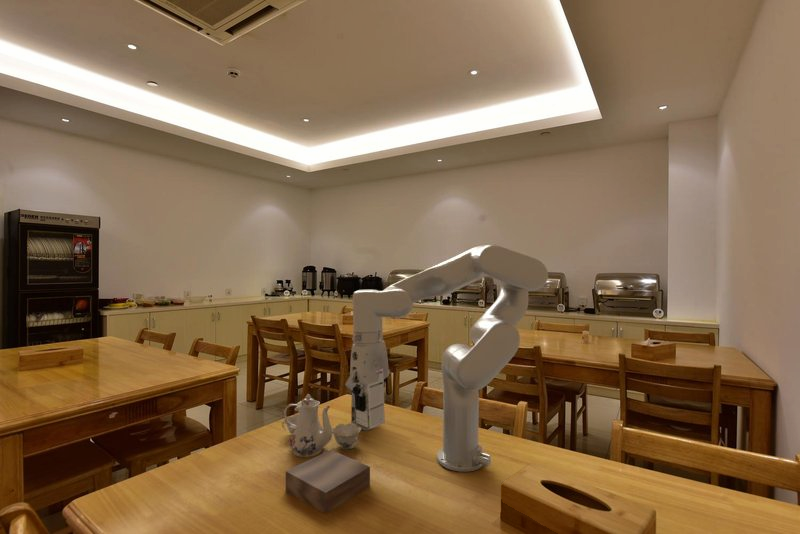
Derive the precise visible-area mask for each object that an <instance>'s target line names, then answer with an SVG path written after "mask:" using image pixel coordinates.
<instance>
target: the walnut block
mask: <svg viewBox="0 0 800 534" xmlns="http://www.w3.org/2000/svg"><path fill="white" fill-rule="evenodd" d="M370 486H371V467H370V466H369V465H367V464H365V463H362V462H360V461H358V460H356V459H353V458H350V457H348V456H347V455H344V454H342V453H339V452H336V451H335V450H333V449H329V450H327V451H325V452H323V453H320V454H318V455H315V456H313V457H311V458H310V459H308V460H306V461H305V462H302V463H300V464H298V465H296V466H294V467H292V468H290V469H287V470H286V471H285V492H287V493H288V494H290V495H292V496H294V497H295V498H297V499H298V500H301V501H302V502H303V503H306V504H307V505H309V506H311V507H312V508H314V509H316V510H317V511H319V512H321V513H322V514H324V515H327V514H329V513H330V512H331V511H333V510H335V509H336V508H338V507H339V506H341V505H342V504H343V503H346V502H347V501H349V500H350V499H352V498H353V497H355V496H356V495H358V494H360V493H361V492H362V491H364V490H365V489H367V488H369V487H370Z"/></svg>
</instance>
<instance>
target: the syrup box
mask: <svg viewBox="0 0 800 534" xmlns="http://www.w3.org/2000/svg"><path fill="white" fill-rule="evenodd" d="M376 372H378V371H376ZM378 373H379V378H378V381H376V382H373V383H371V384H368V385H365V390H364V394H363V395H364V396H365V402H366V410H365V411H364V412H362V411H359V410H356V409H355V423H356V424H358V425H361V426H363V427H366V428H368V429H370V430H372V429H374V428H376V427H379V426H380V425H383V424H385V423H386V415H385V387H384V378H383V369H380V371H379V372H378ZM378 373H377V374H378ZM375 374H376V373H375ZM358 382H359V381H358ZM354 385H355V383H354ZM360 387H361V385H359V388H358V389H359V390H360Z"/></svg>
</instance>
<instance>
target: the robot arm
mask: <svg viewBox="0 0 800 534" xmlns="http://www.w3.org/2000/svg"><path fill="white" fill-rule="evenodd" d="M548 272H549V271H548V269H547V266H546V265H545V264H544V263H543V262H542V261H540V260H539V259H537V258H534V257H533V256H532V257H531V256H529V255H526V254H523V253H520V252H517V251H515V250H512V249H509V248H507V247H503V246H501V245H497V244H485V245H484V244H482V245H477V246H474V247H472V248H469V249H468V250H465V251H464V252H461V253H459V254H457V255H455V256H453V257H451V258H449V259H446V260H445V261H442V262H440V263H437V264H436V265H434V266H431V267H428V268H427V269H424V270H422V271H420V272H417V273H415V274H413V275H411V276H408V277H405V278H404V279H402V280H399V281H398V282H397V281H396V283H393V284H391V285H389V286H388V287H385V288H384V289H383V290H378V289H372V288H371V289H358V290H356V291H354V292H353V294H352V319H353V320H352V325H353V329H352V330H353V336H352V337H351V341H352V342H353V344H352V346H351V352H350V365H349V366H350V367H349V370H350V371H349V376H348V378H347V380H346V382H345V384H344V385H345V386H346V388H348V389H349V391H350V392H351V393H352V392H353V394H354V395H355V409H356V410H359V411H362V412H364V411H365V410H366V402H365V396H364V395H363V394H364V390H365V385H368V384H371V383H373V382H376V381H378V378H379V373H378V372H379V371H380V369H383V378H384V388H386V383H387V380H388V378H389V375H390V374H391V369H389V360H388V359H389V358H388V351H387V346H386V342H385V340H384V337H383V335H384V333H383V318H392V319H400V318H401V319H402V318H405V317H407V316H408V315H409V314H411V312H412V311H413V308H414V304H415V303H418V302H420V301H422V300H426V299H429V298H433V297H434V298H435V297H444V296H447V295H449V294H453V293H454V292H456V291H459V290H460V289H462V288H464V287H466V286H469V285H471V284H472V283H475V282H476V281H479V280H481V279H482V278H483V279H484V278H491V279H495V280H497V281H499V282H500V283H499V284H500V291H499V294H498V297H497V298H496V300H495V301H494V302H493V303H492V304H491V306H490V307H488V309H487V310H486V311H485V312H484V313H483V314H482V315H481V316H480V317H479V318H478V319H477V321H476V322H475V323H474V324H473V326H472V327H471V329H470V334H469V335H470V339H471V341H472V343H473V344H474V345H473V346H472V347H471V346H469V345H468V344H463V343H454V344H451V345H450V346H448V347H447V348H446V349H445V350H444V352H443V354H442V356H441V363H440V365H441V375H442V387H443V388H442V393H443V395H442V396H443V397H442V398H443V399H442V400H443V403H442V405H443V408H442V409H443V412H442V415H443V417H442V418H443V419H442V421H443V422H442V427H443V429H442V448H441V449H440V450H439V451H438V452H437V454H436V456H437V459H436V460H437V463H438V464H440V465H441V466H442V467H444V468H445V469H448V470H450V471H453V472H454V471H455V472H458V473H459V472H461V473H467V472H475V471H477V470H479V469H481V468H482V467H483V466H486V467H487V468H489V467H490V466H491V464H492V460H491V454H488V453H484V452H483V446H482V445H481V444H479V415H480V413H479V405H480V398H479V397H480V395H479V390H481V389H483V388H485V387H486V386H488V385H489V384H490V383H491V382H492V381H493V380H494V378H495V377H497V375H498V374H499V373H500V372H501V371H502V370H503V369H504V367H505V366H506V365H507V364H508V363H509V362H510V361H511V360H512V358H514V356H515V355H516V353H518V352H517V351H518V349H519V347H520V343H521V336H520V331H519V330H518V328H517V327H516V326H517V325H518V324H519V323H520V322H521V320H522V319H523V317H524V316H525V315H526V313H527V310H528V306H529V292H535V291H539V290H540V289H542V288H543V287H544V286H545V285H546V283H547V281H548V279H549V273H548ZM376 371H378V372H376ZM375 373H376V374H375ZM377 373H378V374H377ZM358 381H359V382H358ZM354 383H355V385H354ZM359 385H361V387H360V390H359V389H358V388H359Z"/></svg>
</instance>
